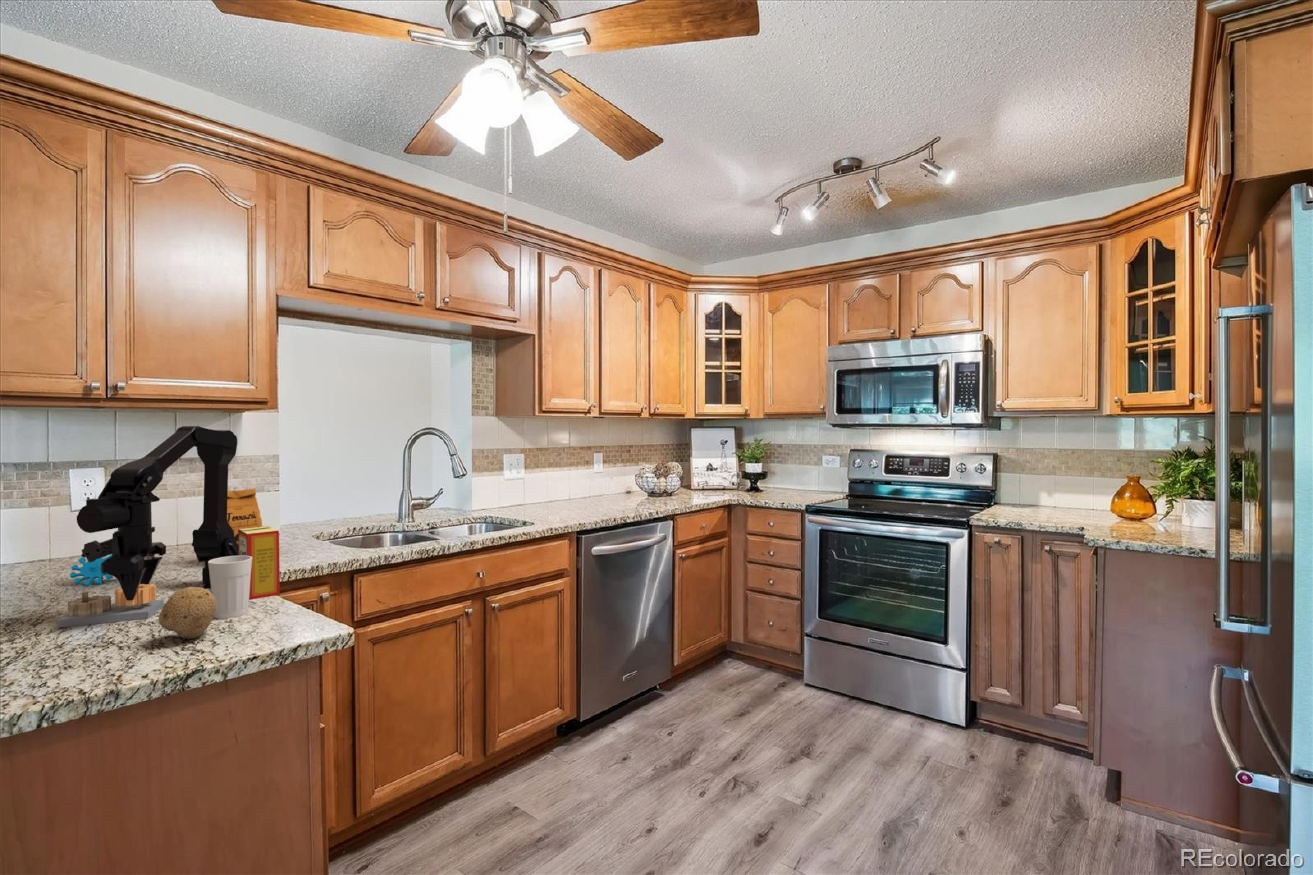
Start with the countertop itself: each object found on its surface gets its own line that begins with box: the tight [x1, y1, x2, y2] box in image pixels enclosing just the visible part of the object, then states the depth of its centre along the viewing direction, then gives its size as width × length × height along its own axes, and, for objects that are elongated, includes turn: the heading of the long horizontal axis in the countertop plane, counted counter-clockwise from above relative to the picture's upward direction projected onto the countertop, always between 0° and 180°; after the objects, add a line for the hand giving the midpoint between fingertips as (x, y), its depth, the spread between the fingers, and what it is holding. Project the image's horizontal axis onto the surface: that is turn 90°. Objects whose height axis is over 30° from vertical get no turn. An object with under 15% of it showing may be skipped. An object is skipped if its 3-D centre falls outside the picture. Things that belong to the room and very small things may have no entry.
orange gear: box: [114, 583, 157, 606], centre depth 137 cm, size 7×7×3 cm
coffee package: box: [227, 487, 263, 544], centre depth 185 cm, size 10×12×22 cm
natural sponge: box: [158, 586, 217, 639], centre depth 122 cm, size 9×9×10 cm
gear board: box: [56, 599, 165, 628], centre depth 136 cm, size 15×10×4 cm, turn 113°
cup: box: [208, 556, 252, 619], centre depth 137 cm, size 8×8×12 cm
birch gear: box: [67, 591, 112, 616], centre depth 134 cm, size 7×7×4 cm
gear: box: [69, 554, 114, 587], centre depth 165 cm, size 11×6×10 cm
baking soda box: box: [238, 525, 281, 601], centre depth 154 cm, size 10×6×16 cm
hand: (136, 595), depth 137 cm, fingers closed on orange gear, 7 cm apart
